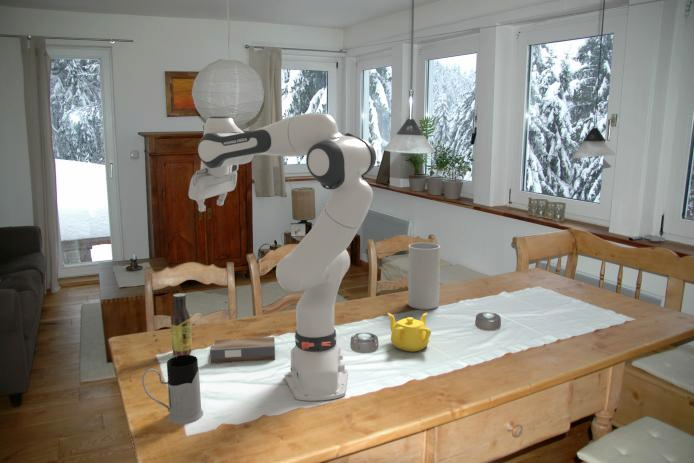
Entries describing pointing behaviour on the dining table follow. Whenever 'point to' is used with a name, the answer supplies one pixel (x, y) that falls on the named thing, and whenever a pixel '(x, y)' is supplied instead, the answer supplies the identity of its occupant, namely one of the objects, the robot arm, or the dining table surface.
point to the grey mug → (182, 389)
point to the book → (243, 343)
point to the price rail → (242, 352)
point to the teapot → (409, 333)
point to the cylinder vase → (423, 275)
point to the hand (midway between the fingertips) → (211, 208)
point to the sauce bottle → (180, 326)
